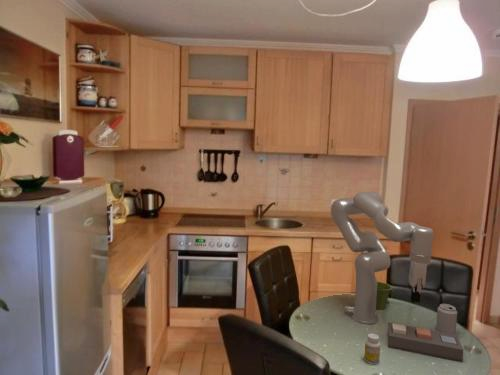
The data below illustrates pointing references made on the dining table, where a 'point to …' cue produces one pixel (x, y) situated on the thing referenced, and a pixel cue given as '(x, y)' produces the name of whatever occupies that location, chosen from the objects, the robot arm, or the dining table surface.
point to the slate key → (448, 339)
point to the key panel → (426, 344)
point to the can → (446, 319)
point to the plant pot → (382, 295)
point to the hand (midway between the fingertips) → (415, 301)
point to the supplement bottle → (372, 349)
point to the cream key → (399, 329)
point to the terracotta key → (423, 333)
